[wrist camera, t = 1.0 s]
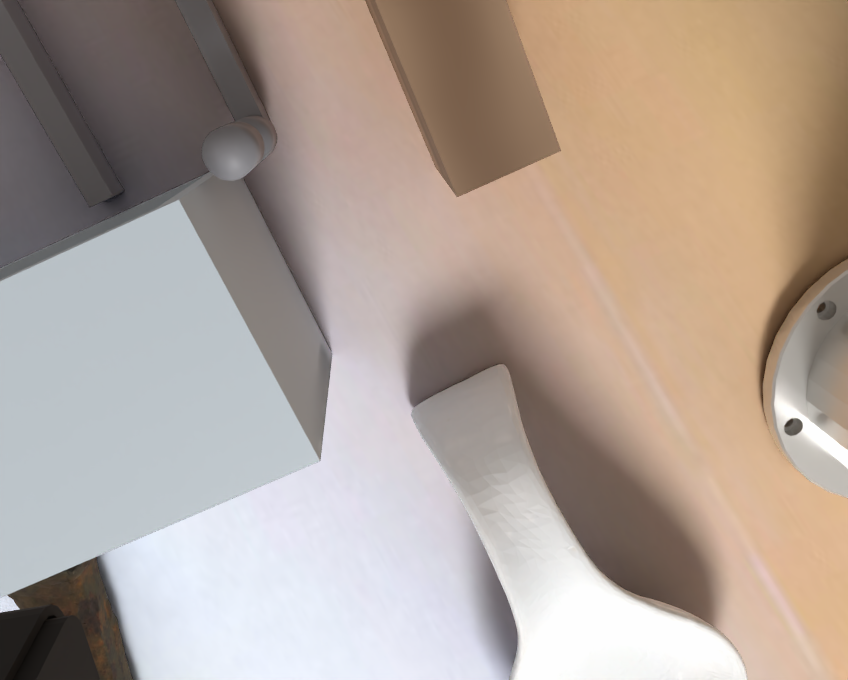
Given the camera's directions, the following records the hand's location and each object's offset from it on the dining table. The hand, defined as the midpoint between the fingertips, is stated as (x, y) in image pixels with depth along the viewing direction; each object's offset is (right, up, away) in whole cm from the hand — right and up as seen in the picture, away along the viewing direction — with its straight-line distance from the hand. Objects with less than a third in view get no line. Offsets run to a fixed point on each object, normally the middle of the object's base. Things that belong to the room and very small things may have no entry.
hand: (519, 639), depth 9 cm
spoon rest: (+6, -8, +31) cm, 32 cm away
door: (-1, +15, +22) cm, 27 cm away
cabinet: (-15, +8, +23) cm, 29 cm away
